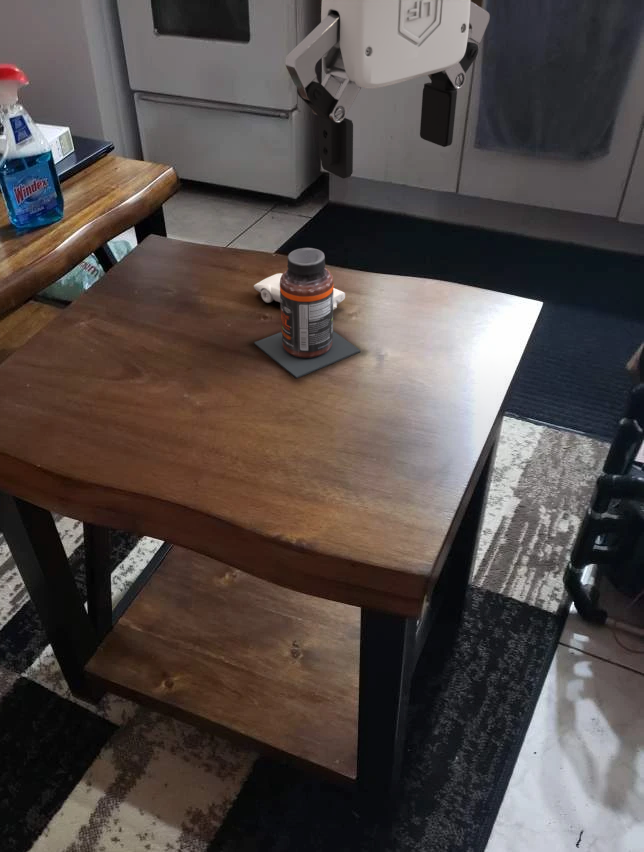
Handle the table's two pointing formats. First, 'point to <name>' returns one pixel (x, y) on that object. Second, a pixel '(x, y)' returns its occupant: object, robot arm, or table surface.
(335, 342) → the mat
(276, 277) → the toy car
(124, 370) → the table surface
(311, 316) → the supplement bottle
